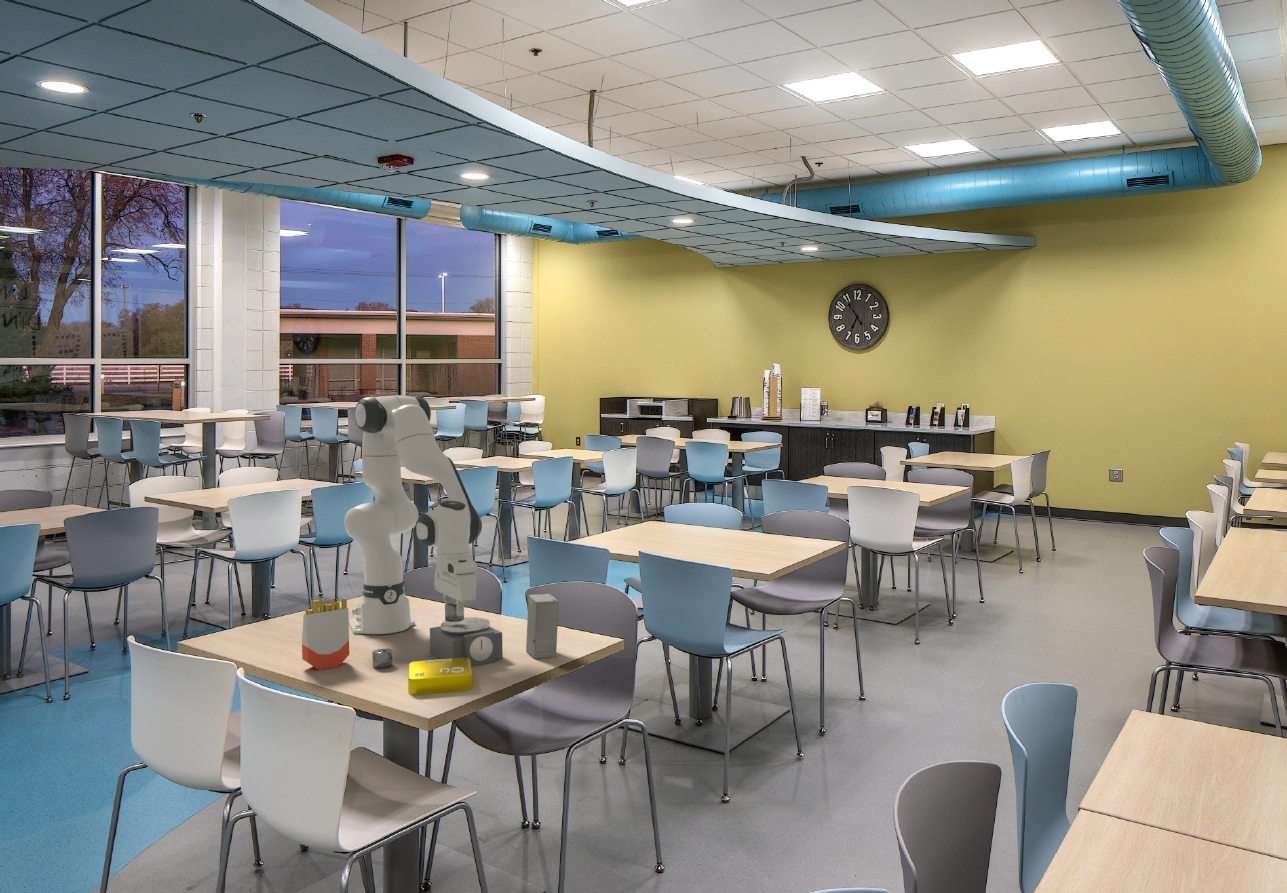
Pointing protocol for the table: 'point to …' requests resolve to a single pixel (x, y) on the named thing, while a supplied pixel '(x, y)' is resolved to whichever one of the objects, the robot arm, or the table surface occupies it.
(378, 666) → the spacer
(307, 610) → the french fries container
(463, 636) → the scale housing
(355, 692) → the table surface
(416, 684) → the element tile
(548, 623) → the skincare box
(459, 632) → the scale pan
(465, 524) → the robot arm
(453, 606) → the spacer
